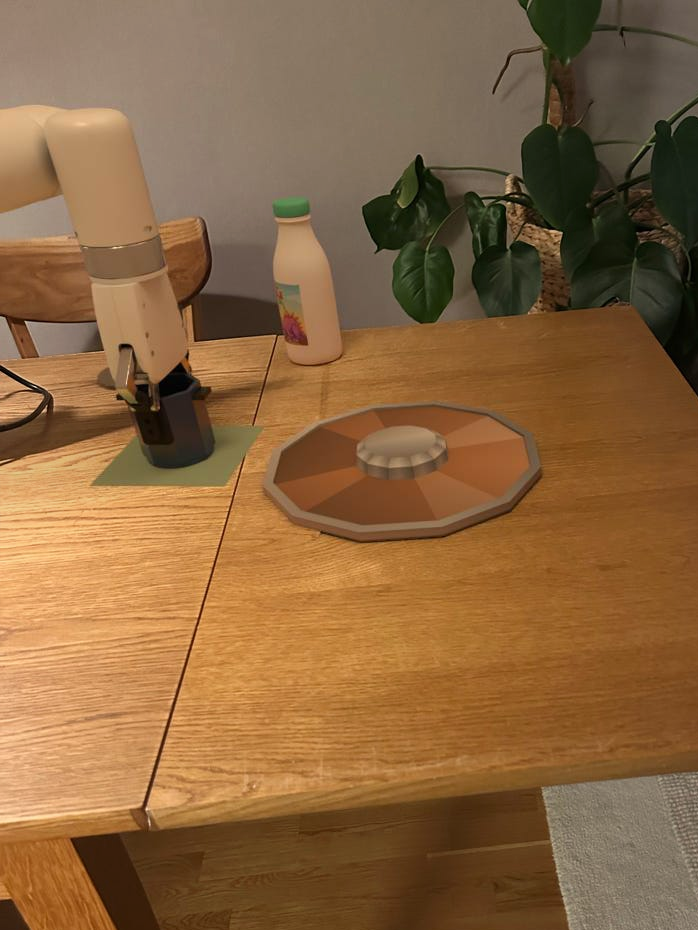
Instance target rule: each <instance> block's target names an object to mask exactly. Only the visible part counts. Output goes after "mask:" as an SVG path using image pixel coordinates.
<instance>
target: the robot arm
mask: <svg viewBox="0 0 698 930" xmlns="http://www.w3.org/2000/svg"><path fill="white" fill-rule="evenodd" d="M147 183H148V182H147V180H146V175H145V172H144V168H143V164H142V160H141V156H140V152H139V149H138V145H137V141H136V137H135V133H134V130H133V127H132V124H131V122H130V121H129V119H128V117H127V116H126V115H125V114H124V113H122V111H119V110H117V109H114V108H108V107H85V108H76V109H65V108H61V107H56V106H51V105H44V104H25V105H19V106H14V107H10V108H0V214H3V213H9V212H11V211H15V210H18V209H20V208H24V207H26V206H29V205H32V204H36V203H38V202H43V201H47V200H50V199H52V198H57V197H59V196H63V200H64V202H65V205H66V208H67V211H68V215H69V218H70V221H71V225H72V228H73V231H74V234H75V238H76V240H77V243H78V246H79V248H80V254H81V256H82V259H83V263H84V265H85V268H86V271H87V275H88V278H89V281H90V282H92V283H91V284H90V287H91V295H92V296H91V297H92V302H93V310H94V314H95V319H96V324H97V327H98V332H99V336H100V340H101V343H102V348H103V351H104V355H105V358H106V362H107V367H109V369H110V372H111V375H112V378H113V380H114V381H115V388H116V390H115V391H116V392H117V394H118V393H119V394H120V395H121V396H122V397H123V398H124V400H123V401H124V402H125V404H126V405H127V404H128V405H129V407H130V410H131V411H132V412H134V414H135V417H136V420H137V423H138V427H139V430H140V433H141V436H142V439H143V442H144V443H145V444H146V445H171V444H172V443H173V442H174V439H173V435H172V432H171V428H170V425H169V422H168V418H167V415H166V411H165V408H164V407H160V397H159V382H160V381H161V380H162V379H163V378H165V377H166V376H167V375H168V374H169V373H189V374H191V375H192V376H193V367H192V365H191V364H190V362H189V359H190V350H189V344H188V330H187V328H186V327H185V326H184V322H183V317H182V315H181V311H180V308H179V305H178V302H177V299H176V296H175V293H174V289H173V287H172V283H171V280H170V278H169V276H168V272H169V270H170V268H169V265H168V261H167V256H166V253H165V249H164V244H163V242H162V237H161V234H160V230H159V226H158V222H157V218H156V215H155V211H154V207H153V203H152V199H151V195H150V191H149V188H148V187H149V186H148V184H147ZM137 374H148V376H149V379H137ZM139 386H149V397H148V396H147V395H146V394H145V393H143V392H142V391H139ZM128 405H127V406H128Z"/></svg>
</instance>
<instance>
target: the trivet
mask: <svg viewBox="0 0 698 930" xmlns="http://www.w3.org/2000/svg"><path fill="white" fill-rule="evenodd" d="M144 377H148V374H137V379H141V378H144ZM96 380H97V383H98V385H99V387H101V388H103V389H106V390H111V391H116V388H115V381H114V380H113V378H112V375H111V372H110V369H109V366H107V367H104V369H102V370H101V371H100V372H99V373H97V376H96Z"/></svg>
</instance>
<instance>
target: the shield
mask: <svg viewBox="0 0 698 930" xmlns="http://www.w3.org/2000/svg"><path fill="white" fill-rule="evenodd" d="M536 443H537V442H536V440H535V435H534V433H533V432H532V431H529V430H528V429H526V428H524V427H523V426H521V425H519V424H518V423H516V422H514V421H513V420H511V419H509V418H507V417H505V416H504V415H502V414H501V413H499V412H497V411H495V410H492V409H488V408H487V409H486V408H481V407H474V406H468V405H463V404H457V403H451V402H444V401H438V400H429V401H415V402H414V401H413V402H399V403H384V404H383V403H382V404H371V405H367V406H364V407H360V408H357V409H354V410H350V411H347V412H344V413H340V414H337V415H334V416H333V415H332V416H330V417H327V418H324V419H319V420H317V421H313V422H312V423H311V422H310V424H309V425H307V426H305V427H304V428H303V429H301V430H300V431H298V432H297V433H295V434H294V435H292V436H291V437H289V438H288V439H287V440H285V441H284V442H282V443H281V444H279V445H278V446H276V447H275V448H274V449H272V450H271V452H270V456H269V458H268V459H269V460H268V463H267V466H266V470H265V472H264V476H263V480H262V483H261V487H262V492H263V494H264V496H266V497H267V498H268V500H269V501H271V503H273V504H274V506H275V507H276V508H278V509H279V511H280V512H281V513H282V514H283V515H284V516H285V517H286V518H287V519H288V520H289V521H290V522H291V523H292V524H293V525H295V526H300V527H304V528H307V529H312V530H316V531H319V533H320V532H322V533H321V534H324V533H326V534H325V535H328V534H331V535H330V536H332V535H335V536H334V537H336V536H339V537H338V538H340V537H343V538H342V539H344V538H347V539H346V540H348V539H350V540H349V541H352V540H355V541H354V542H356V541H359V542H358V543H360V542H364V543H370V542H369V541H378V542H388V541H387V540H393V541H405V540H404V539H408V540H420V539H419V538H423V539H430V538H429V537H437V538H444V537H443V536H445V537H447V536H450V535H452V534H455V533H457V532H460V531H463V530H465V529H468V528H471V527H473V526H475V525H479V524H481V523H485V522H487V521H489V520H492V519H495V518H497V517H499V516H502V515H504V514H507V513H510V512H512V510H513V509H514V508H515V507H516V506H517V504H519V502H520V501H521V500H522V499H523V498H524V497H525V496H526V494H527V493H528V492H529V491H530V490H531V488H532V487H534V485H535V484H536V483H537V482H538V481H539V479H541V477H542V463H541V460H540V459H541V458H540V456H539V451H538V446H537V444H536ZM449 534H450V535H449ZM351 539H352V540H351ZM365 541H366V542H365Z"/></svg>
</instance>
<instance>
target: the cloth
mask: <svg viewBox="0 0 698 930" xmlns="http://www.w3.org/2000/svg"><path fill="white" fill-rule="evenodd" d="M211 426H212V430H213V434H214V438H215V442H216V443H215V444H214V452H213V454H212V455H211V456H210V457H209V458H207V459H206V460H204V461H202V462H200V463H197V464H194V465H191V466H187V467H183V468H174V469H165V468H158V467H155V466H153V465H151V464H150V463H149V462H148V460H147V457H145V456H144V455H143V453H142V450H141V446H140V443H139V440H138V437H137V434H135V436H134V437H133V438H132V439H131V440H130V441H129V442H128V443H127V445H126V446H125V447H124V448H123V449H122V450H121V451H120V452H119V453H118V454H117V455H116V457H114V459H113V460H112V461H111V462H110V463H109V464H108V465H107V466H106V467H105V468H104V469H103V470H102V472H100V473H99V475H98V476H97V477H96V478H95V479H93V481H92V482H91V484H89V487H221V488H222V487H223V488H224V487H225V486H226V485H227V483H228V482H229V481H230V480H231V477H233V474H234V473H235V472H236V471H237V469H238V467H239V465H241V462H242V461H243V460H244V458H245V456H246V455H247V454H248V452H249V450H250V449H251V448H252V446H253V445H254V443H255V442H256V440H257V438H258V437H259V435H260V434H261V433H262V431H263V430H264V428H265V425H211Z"/></svg>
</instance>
